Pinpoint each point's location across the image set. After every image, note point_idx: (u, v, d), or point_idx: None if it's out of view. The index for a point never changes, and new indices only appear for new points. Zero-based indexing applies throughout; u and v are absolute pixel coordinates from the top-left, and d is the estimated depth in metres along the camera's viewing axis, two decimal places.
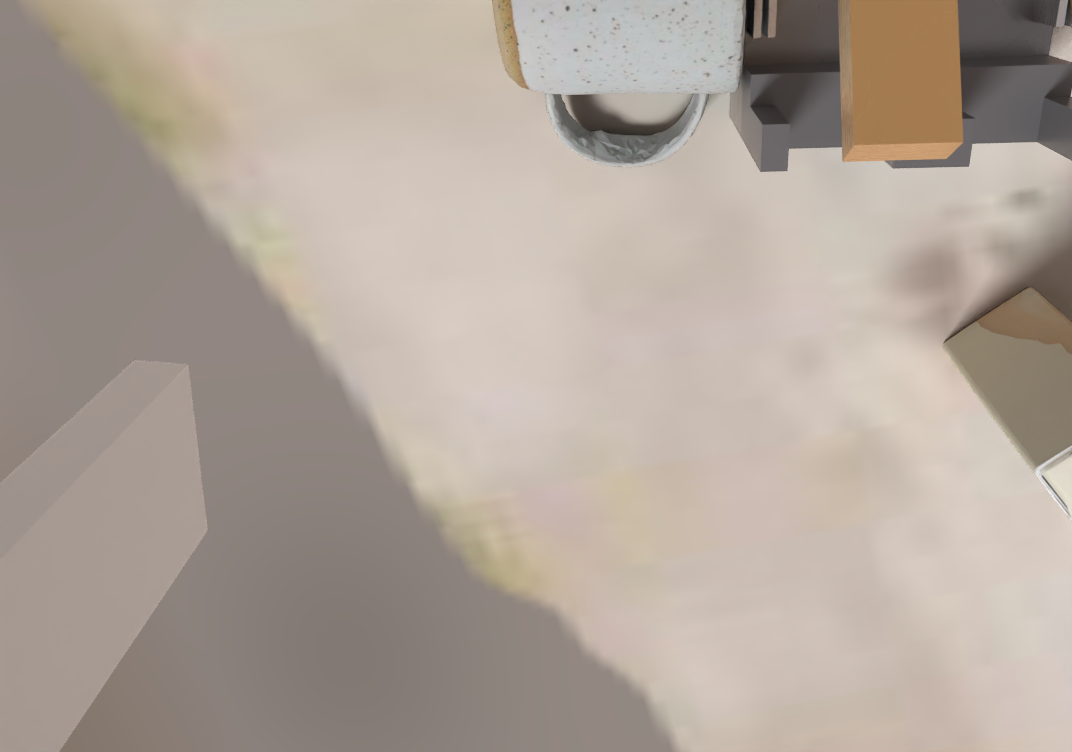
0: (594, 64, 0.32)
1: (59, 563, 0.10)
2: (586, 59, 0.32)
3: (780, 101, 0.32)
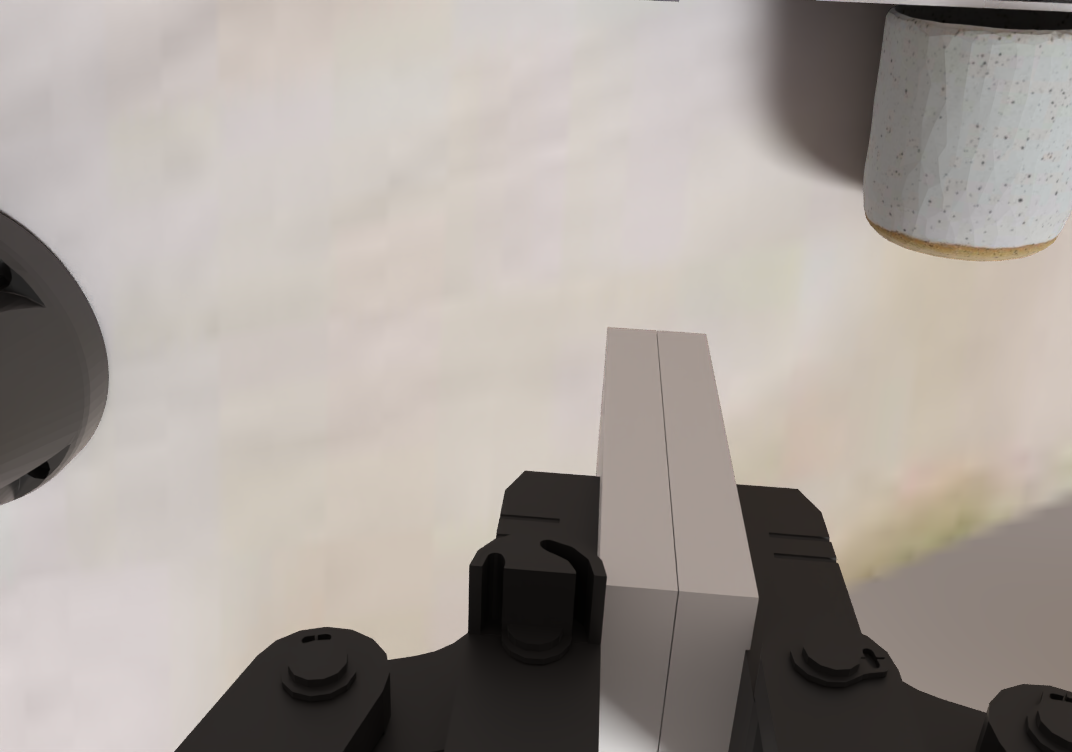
0: None
1: None
2: (1065, 182, 0.33)
3: None
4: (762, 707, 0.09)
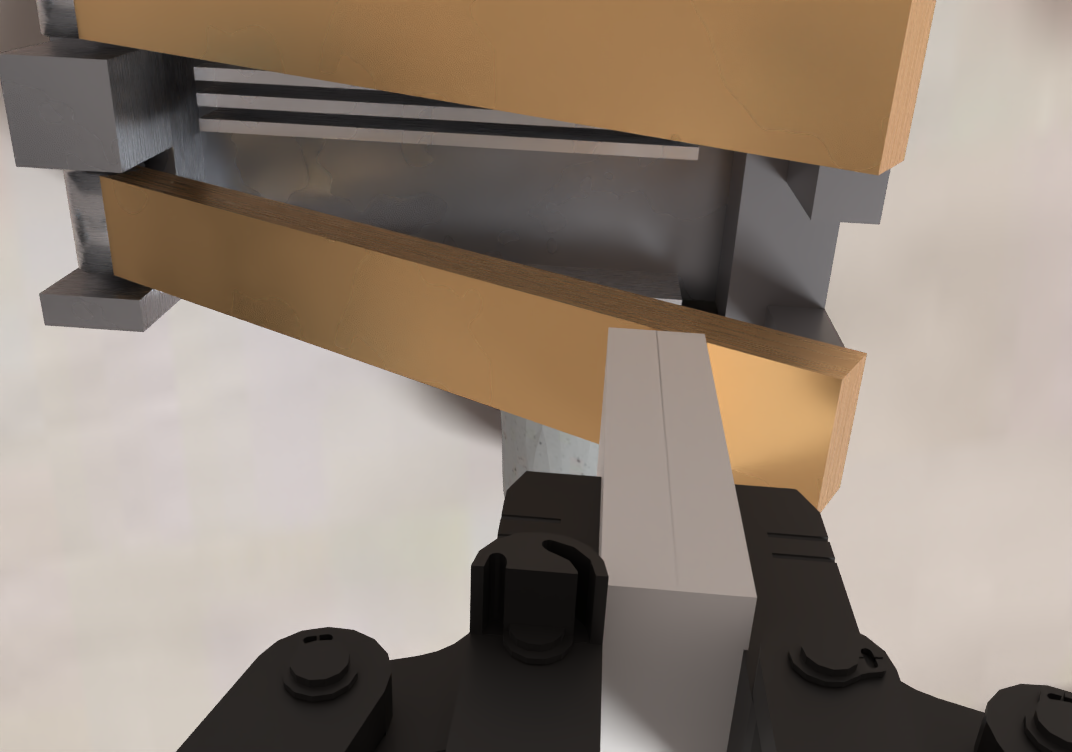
0: None
1: None
2: None
3: (763, 298, 0.25)
4: (761, 707, 0.09)
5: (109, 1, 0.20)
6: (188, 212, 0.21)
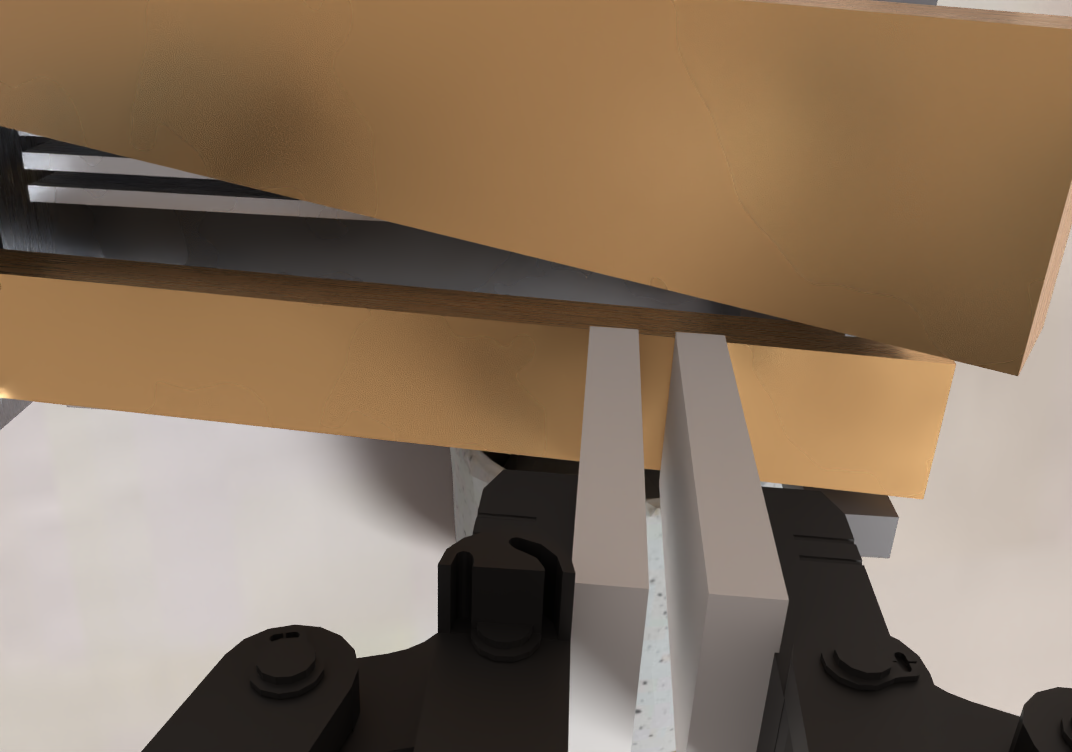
0: None
1: None
2: None
3: None
4: (793, 709, 0.09)
5: None
6: (76, 296, 0.17)
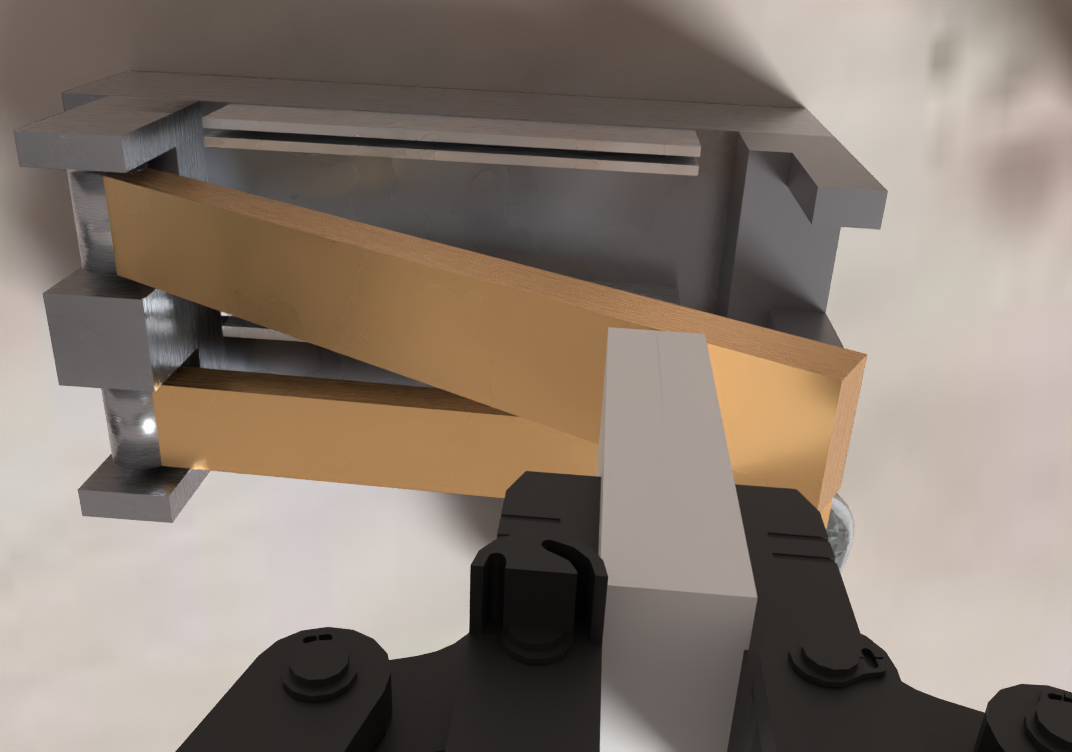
0: None
1: None
2: None
3: None
4: (761, 707, 0.09)
5: (145, 251, 0.23)
6: (267, 404, 0.25)
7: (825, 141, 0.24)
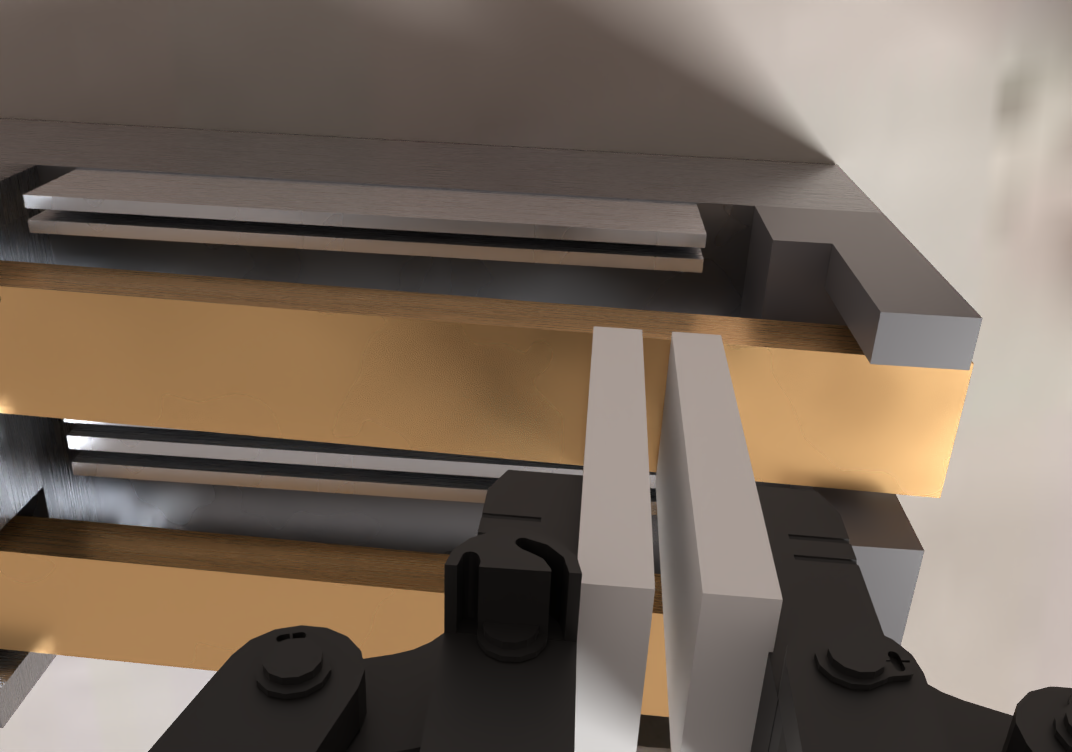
0: None
1: None
2: None
3: None
4: (786, 708, 0.09)
5: None
6: (124, 574, 0.19)
7: (873, 221, 0.18)
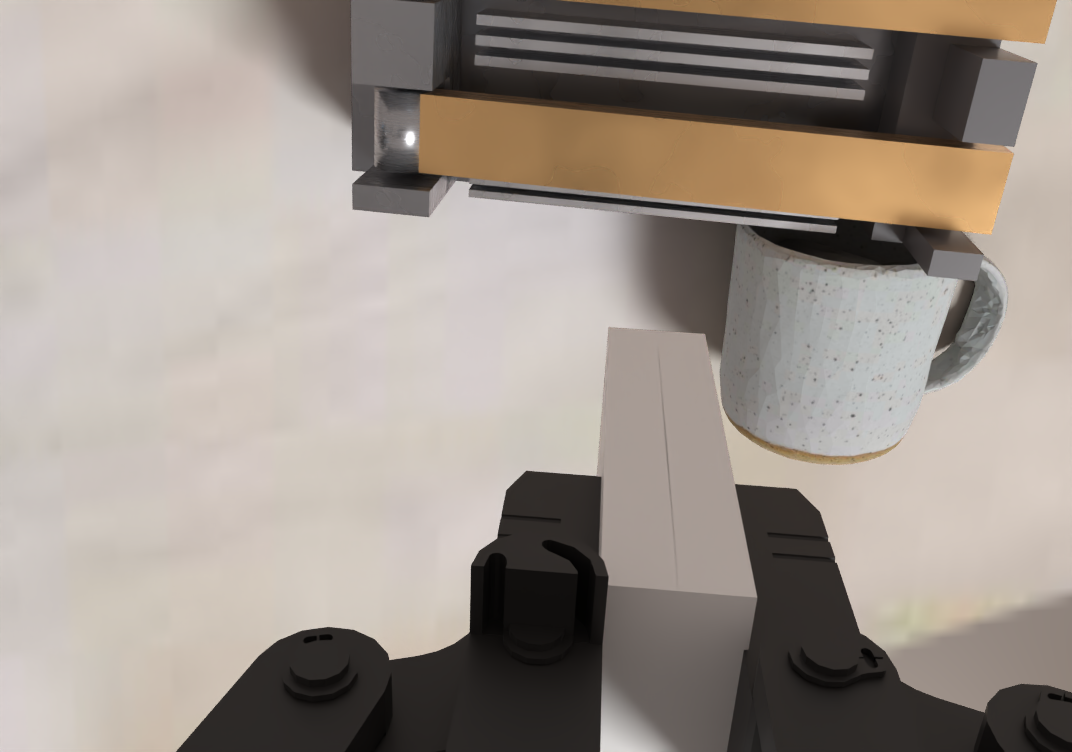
0: (907, 391, 0.34)
1: None
2: (900, 398, 0.34)
3: None
4: (760, 707, 0.09)
5: None
6: (518, 113, 0.30)
7: None
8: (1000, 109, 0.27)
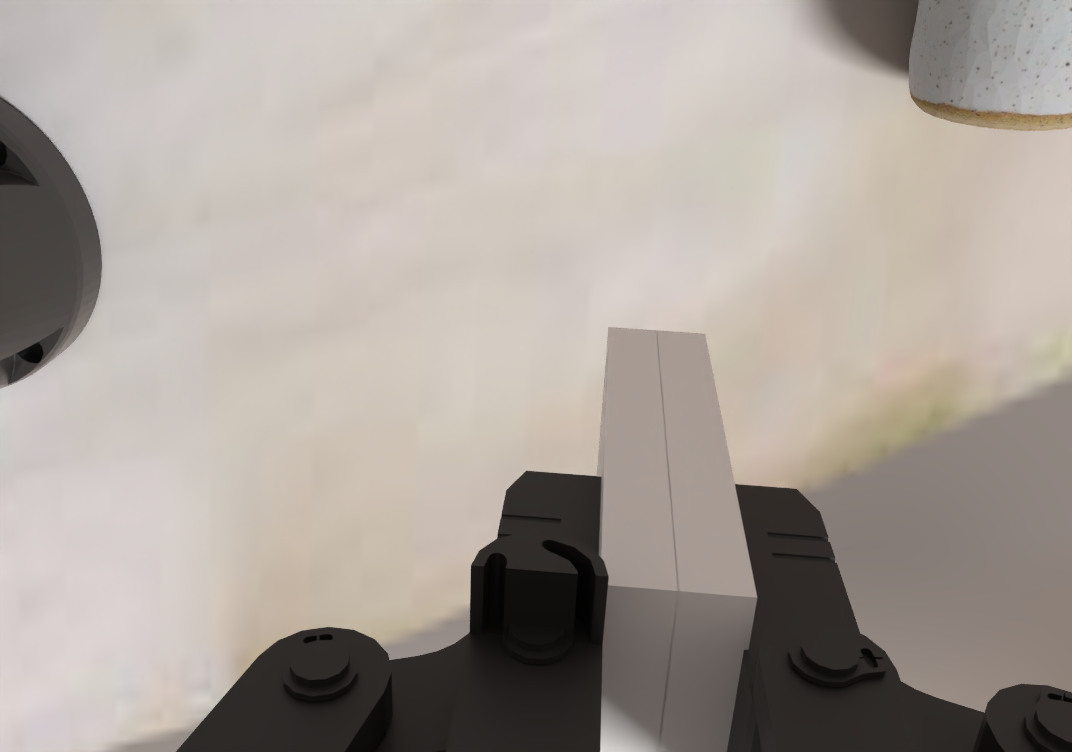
0: None
1: None
2: None
3: None
4: (760, 707, 0.09)
5: None
6: None
7: None
8: None
